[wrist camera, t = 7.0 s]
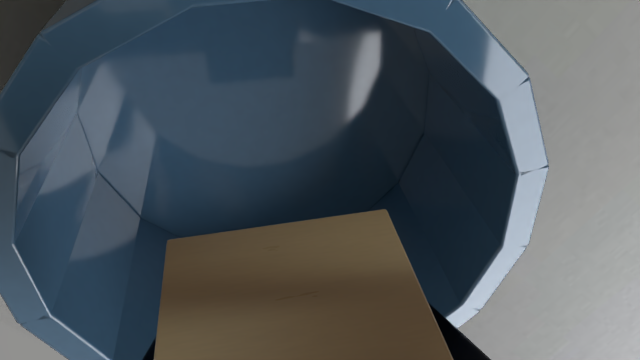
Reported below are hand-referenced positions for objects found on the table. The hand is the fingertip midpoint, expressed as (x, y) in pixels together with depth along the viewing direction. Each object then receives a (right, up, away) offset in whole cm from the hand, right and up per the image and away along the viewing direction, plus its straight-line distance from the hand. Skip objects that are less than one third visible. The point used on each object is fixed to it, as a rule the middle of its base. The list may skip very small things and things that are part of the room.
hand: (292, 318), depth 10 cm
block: (0, 0, 0) cm, 0 cm away
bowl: (-1, +5, +7) cm, 9 cm away
